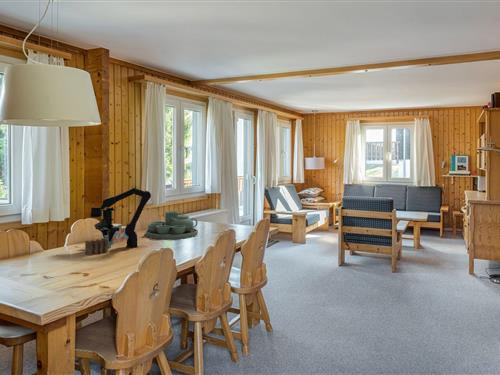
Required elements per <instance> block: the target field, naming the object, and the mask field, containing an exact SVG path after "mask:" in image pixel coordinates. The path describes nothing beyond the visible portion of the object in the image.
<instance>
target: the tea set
mask: <svg viewBox="0 0 500 375" xmlns="http://www.w3.org/2000/svg"><path fill="white" fill-rule="evenodd" d="M179 212H180V211H175V210H168V211H164V213H165V214H164V215H165V217H164V219H165V220H164V221H152V222H151V223H149V224H147V228H148V229H146V230H145V236H146V237H149V238H150V239H151V238H152V239H159V240H178V239H179V240H181V238H182V239H188V238H194V237H195V236H197V235H198V234H199V231H198V229H196V227H197V226H198V220H197V219H196V218H190V217H189V215H187V214H183V213H182V214H180V215H179ZM194 222H195V225H194Z"/></svg>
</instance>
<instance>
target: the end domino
mask: <svg viewBox="0 0 500 375" xmlns="http://www.w3.org/2000/svg"><path fill="white" fill-rule="evenodd" d="M103 239H108V249H111V248H112V244H111V241H110V242H109V237H108V235H104V238H103Z"/></svg>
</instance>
